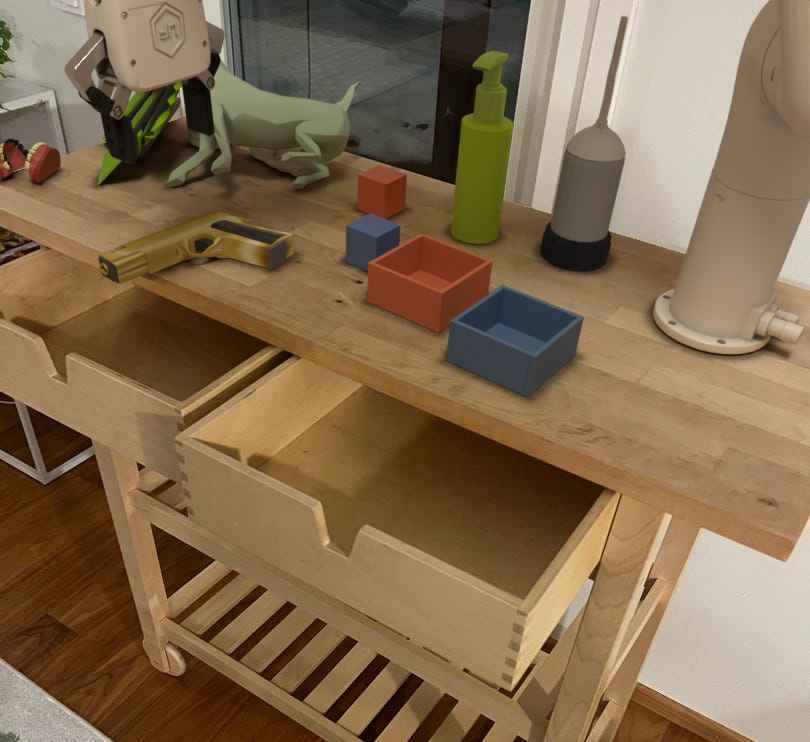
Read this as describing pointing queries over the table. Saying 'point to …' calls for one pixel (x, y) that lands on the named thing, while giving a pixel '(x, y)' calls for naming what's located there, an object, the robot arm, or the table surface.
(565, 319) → the blue bin
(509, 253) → the table surface
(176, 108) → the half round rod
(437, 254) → the terracotta bin
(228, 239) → the handgun
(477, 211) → the soap dispenser
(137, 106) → the cloth
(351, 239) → the blue block
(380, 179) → the terracotta block
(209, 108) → the robot arm
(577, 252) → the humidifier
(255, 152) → the sponge
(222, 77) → the statue
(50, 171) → the dentures
